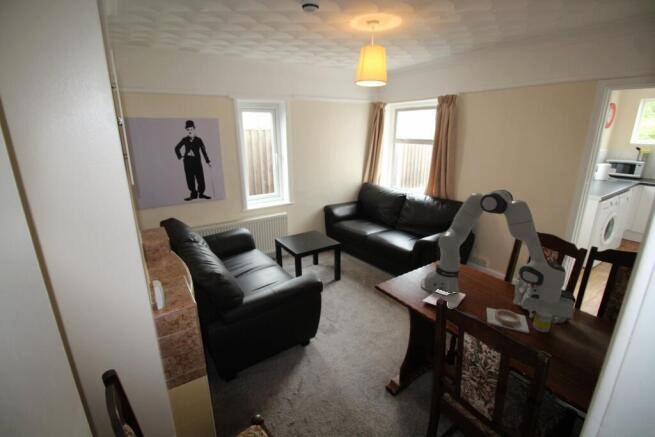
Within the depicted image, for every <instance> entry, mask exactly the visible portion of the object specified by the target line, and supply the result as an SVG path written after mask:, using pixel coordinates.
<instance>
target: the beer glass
mask: <svg viewBox="0 0 655 437" xmlns="http://www.w3.org/2000/svg"><path fill="white" fill-rule="evenodd" d="M531 285H532V284H529V283H526V282H524V281H523V280H522V279H521V278H520V276H519V277H517V278H516V281H515V286H514V297H513V300H512V303H513V304H514V305H515V306H519V307H522V306H521V301H522V298H523V296H524V294H525V293H527V288H531Z"/></svg>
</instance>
